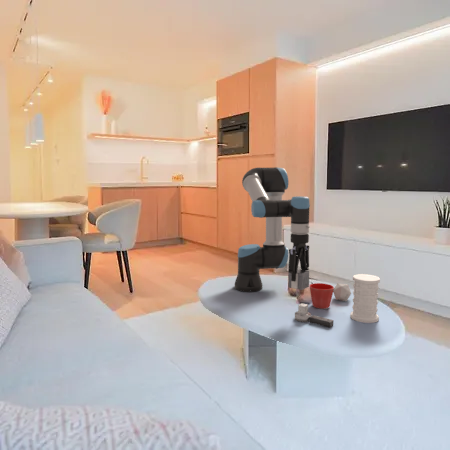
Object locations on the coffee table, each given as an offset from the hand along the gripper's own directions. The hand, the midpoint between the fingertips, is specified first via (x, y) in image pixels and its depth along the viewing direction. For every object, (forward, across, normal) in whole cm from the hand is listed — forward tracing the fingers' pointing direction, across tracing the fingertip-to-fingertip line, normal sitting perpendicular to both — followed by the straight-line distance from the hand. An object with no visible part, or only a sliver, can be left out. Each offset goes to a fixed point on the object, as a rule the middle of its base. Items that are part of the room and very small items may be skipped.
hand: (298, 286), depth 166 cm
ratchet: (+14, 0, -7) cm, 16 cm away
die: (+14, +35, -5) cm, 38 cm away
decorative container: (+14, +18, -22) cm, 32 cm away
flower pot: (+14, +20, -1) cm, 24 cm away
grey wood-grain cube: (0, 0, 0) cm, 0 cm away
